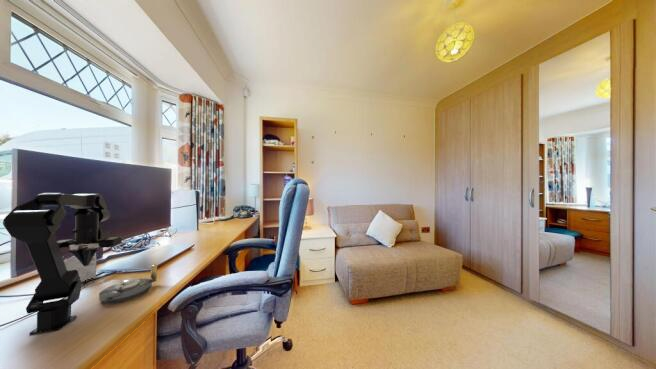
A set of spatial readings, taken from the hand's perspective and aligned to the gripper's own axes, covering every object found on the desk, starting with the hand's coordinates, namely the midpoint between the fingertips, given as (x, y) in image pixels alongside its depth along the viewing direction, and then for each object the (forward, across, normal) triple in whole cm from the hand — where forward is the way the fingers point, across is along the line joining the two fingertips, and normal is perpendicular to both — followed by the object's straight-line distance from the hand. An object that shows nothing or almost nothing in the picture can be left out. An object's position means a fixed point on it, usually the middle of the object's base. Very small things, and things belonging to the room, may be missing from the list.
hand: (86, 265), depth 76 cm
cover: (+10, -13, 0) cm, 16 cm away
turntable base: (+13, -13, 0) cm, 18 cm away
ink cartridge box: (+13, +15, -20) cm, 28 cm away
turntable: (+12, -14, 0) cm, 18 cm away
